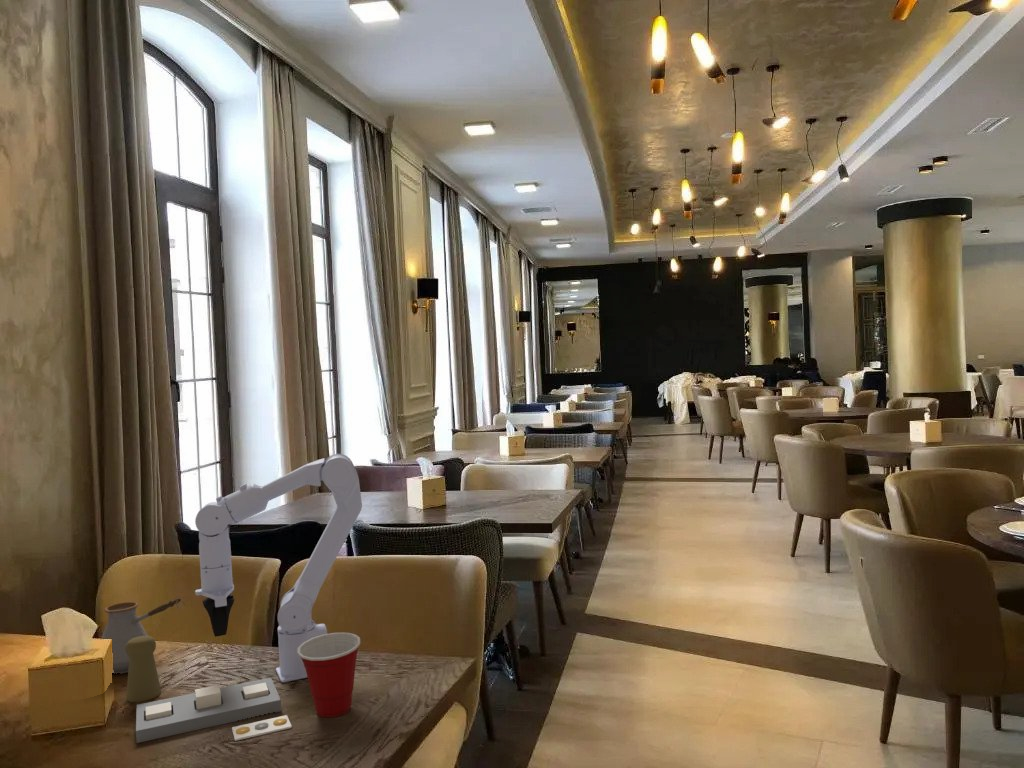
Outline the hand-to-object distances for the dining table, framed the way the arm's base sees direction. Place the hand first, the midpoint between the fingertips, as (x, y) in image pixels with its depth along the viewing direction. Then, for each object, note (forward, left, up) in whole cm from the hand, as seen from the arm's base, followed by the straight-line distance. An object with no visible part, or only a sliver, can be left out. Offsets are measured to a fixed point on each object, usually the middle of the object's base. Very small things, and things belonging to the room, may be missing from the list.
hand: (220, 634), depth 154 cm
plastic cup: (-16, +25, -10) cm, 31 cm away
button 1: (+11, +14, -9) cm, 20 cm away
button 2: (-5, +14, -9) cm, 17 cm away
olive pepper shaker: (+14, -2, -10) cm, 17 cm away
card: (-4, +26, -9) cm, 27 cm away
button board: (+4, +14, -9) cm, 17 cm away
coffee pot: (+14, -18, -10) cm, 25 cm away
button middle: (+3, +14, -8) cm, 16 cm away
